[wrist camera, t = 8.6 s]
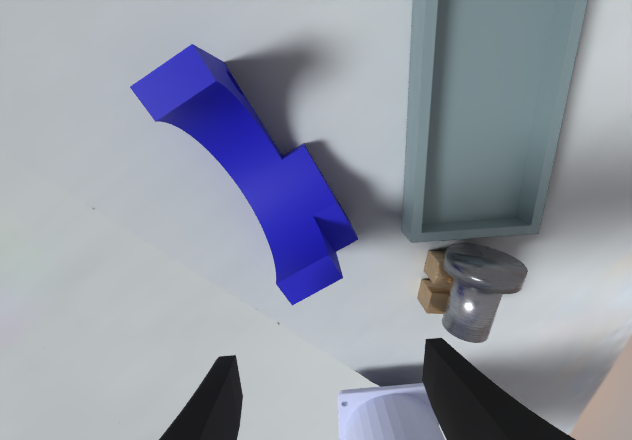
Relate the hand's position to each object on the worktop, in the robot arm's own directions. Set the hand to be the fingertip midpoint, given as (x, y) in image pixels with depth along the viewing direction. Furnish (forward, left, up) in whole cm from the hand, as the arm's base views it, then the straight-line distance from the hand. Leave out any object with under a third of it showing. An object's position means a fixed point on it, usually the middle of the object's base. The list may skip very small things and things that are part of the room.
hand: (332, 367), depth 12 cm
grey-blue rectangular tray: (+9, -10, -10) cm, 17 cm away
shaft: (0, -10, -10) cm, 14 cm away
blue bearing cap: (+6, +2, -11) cm, 13 cm away
